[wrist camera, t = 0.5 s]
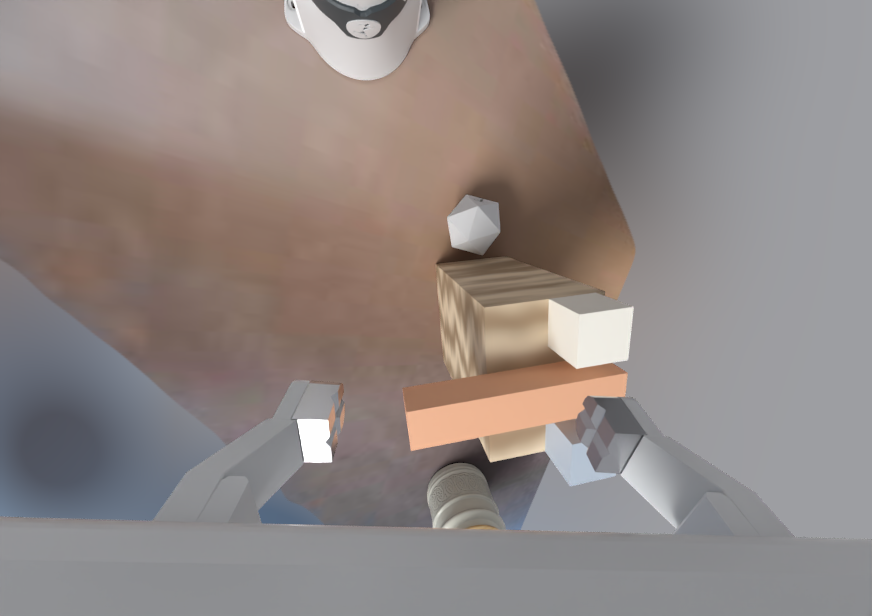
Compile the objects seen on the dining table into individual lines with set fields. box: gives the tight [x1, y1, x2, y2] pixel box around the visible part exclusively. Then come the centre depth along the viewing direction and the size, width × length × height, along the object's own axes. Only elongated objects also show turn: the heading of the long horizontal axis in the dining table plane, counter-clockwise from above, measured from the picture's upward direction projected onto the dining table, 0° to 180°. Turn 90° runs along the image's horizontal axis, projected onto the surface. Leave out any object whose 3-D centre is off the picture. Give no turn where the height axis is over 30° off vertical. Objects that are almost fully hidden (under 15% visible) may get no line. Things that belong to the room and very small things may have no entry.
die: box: [447, 194, 501, 255], centre depth 50 cm, size 8×9×10 cm
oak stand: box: [436, 256, 605, 462], centre depth 46 cm, size 18×12×26 cm
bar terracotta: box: [403, 361, 627, 451], centre depth 32 cm, size 4×21×4 cm, turn 95°
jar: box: [427, 463, 506, 530], centre depth 61 cm, size 13×13×18 cm
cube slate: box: [545, 419, 616, 486], centre depth 34 cm, size 5×5×5 cm
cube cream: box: [548, 293, 634, 369], centre depth 30 cm, size 5×5×5 cm
